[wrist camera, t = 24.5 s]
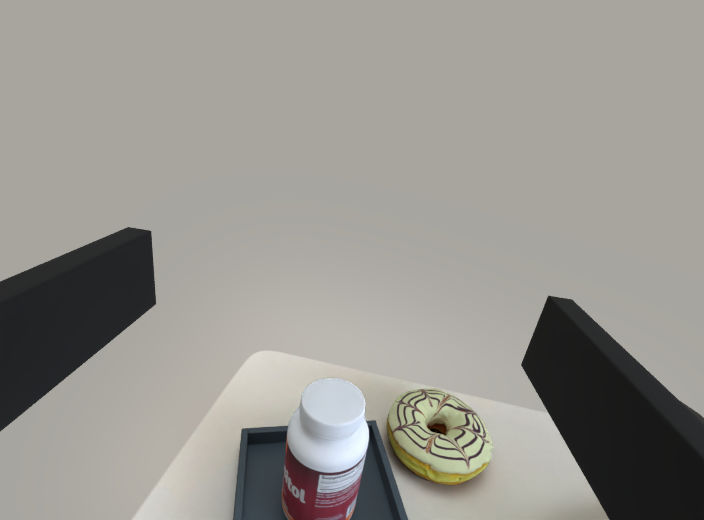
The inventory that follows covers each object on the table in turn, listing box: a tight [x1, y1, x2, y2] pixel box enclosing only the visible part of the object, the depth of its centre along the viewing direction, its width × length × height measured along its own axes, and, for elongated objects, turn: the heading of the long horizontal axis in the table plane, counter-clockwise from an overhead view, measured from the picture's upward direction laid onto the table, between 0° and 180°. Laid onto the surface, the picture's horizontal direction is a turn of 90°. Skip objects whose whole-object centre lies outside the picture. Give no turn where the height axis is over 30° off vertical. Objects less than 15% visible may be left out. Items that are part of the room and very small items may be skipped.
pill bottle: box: [282, 378, 369, 520], centre depth 28 cm, size 6×6×11 cm
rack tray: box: [233, 420, 408, 520], centre depth 30 cm, size 13×13×2 cm
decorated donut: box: [387, 389, 493, 485], centre depth 37 cm, size 10×11×4 cm
